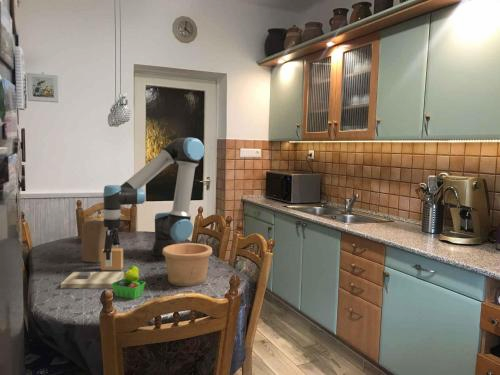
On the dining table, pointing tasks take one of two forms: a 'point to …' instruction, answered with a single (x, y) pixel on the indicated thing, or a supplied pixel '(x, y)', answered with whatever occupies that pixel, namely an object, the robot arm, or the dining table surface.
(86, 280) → the birch board
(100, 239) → the wooden block
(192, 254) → the pottery
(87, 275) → the gray square block
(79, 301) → the dining table surface
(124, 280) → the fruit basket
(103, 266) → the block
